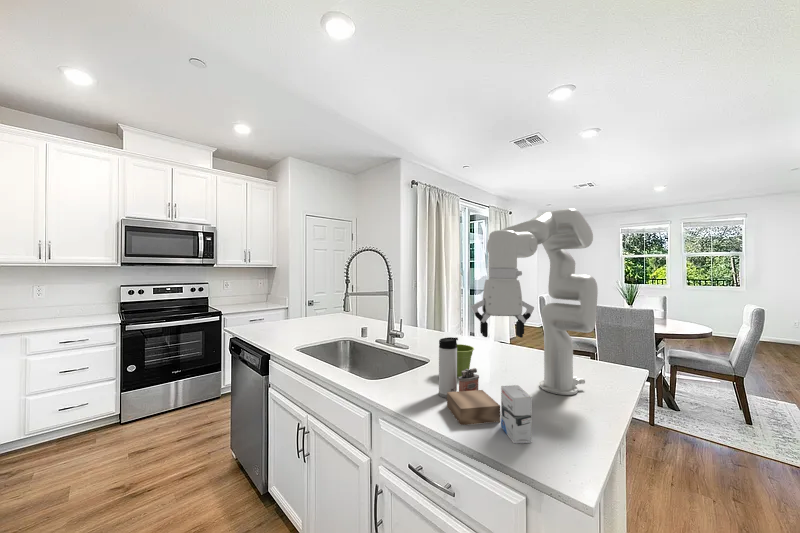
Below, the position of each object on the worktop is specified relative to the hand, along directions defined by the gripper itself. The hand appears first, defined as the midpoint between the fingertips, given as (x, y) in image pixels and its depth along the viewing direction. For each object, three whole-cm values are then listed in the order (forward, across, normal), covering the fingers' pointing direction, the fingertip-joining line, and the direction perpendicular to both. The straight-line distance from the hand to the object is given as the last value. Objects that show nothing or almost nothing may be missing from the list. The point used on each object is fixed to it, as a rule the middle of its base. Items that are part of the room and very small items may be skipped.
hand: (502, 336), depth 87 cm
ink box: (+26, -3, +3) cm, 26 cm away
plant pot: (+25, +3, -44) cm, 51 cm away
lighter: (+26, +5, -20) cm, 33 cm away
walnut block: (+26, +6, -8) cm, 28 cm away
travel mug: (+26, +11, -23) cm, 36 cm away
